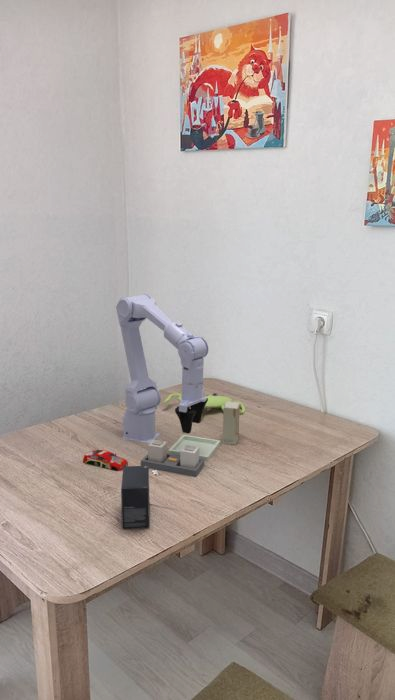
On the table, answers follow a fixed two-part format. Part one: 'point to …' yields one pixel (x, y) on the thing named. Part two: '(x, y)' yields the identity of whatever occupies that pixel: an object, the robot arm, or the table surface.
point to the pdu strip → (173, 465)
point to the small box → (135, 497)
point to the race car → (105, 460)
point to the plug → (189, 456)
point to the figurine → (211, 401)
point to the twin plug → (157, 451)
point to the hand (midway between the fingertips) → (191, 427)
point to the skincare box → (231, 423)
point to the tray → (205, 446)
